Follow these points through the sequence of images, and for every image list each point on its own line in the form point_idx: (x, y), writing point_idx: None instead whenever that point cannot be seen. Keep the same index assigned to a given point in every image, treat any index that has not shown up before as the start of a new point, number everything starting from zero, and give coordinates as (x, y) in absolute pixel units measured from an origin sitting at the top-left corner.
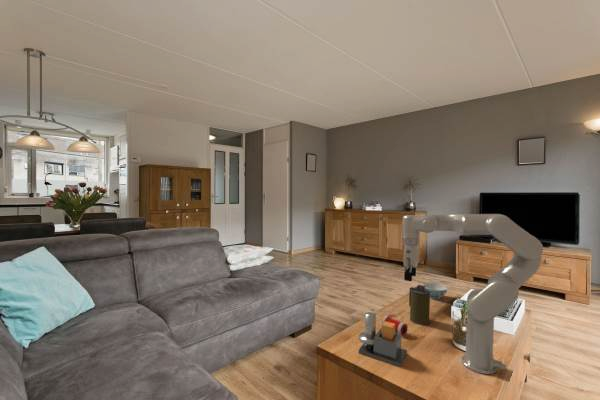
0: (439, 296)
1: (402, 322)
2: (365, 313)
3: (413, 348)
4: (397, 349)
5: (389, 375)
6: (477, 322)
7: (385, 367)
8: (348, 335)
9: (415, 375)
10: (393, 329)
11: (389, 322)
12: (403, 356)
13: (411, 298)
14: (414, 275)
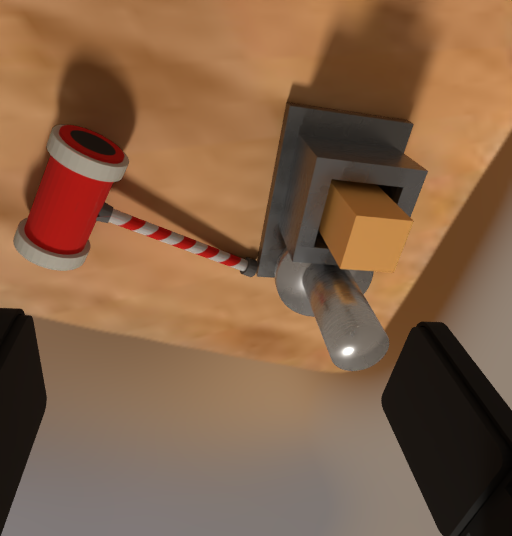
0: None
1: (74, 167)
2: (355, 370)
3: (220, 73)
4: (379, 153)
5: (471, 152)
6: None
7: None
8: (241, 336)
9: (453, 51)
10: (382, 210)
11: (349, 245)
12: (353, 116)
13: None
14: (28, 330)
